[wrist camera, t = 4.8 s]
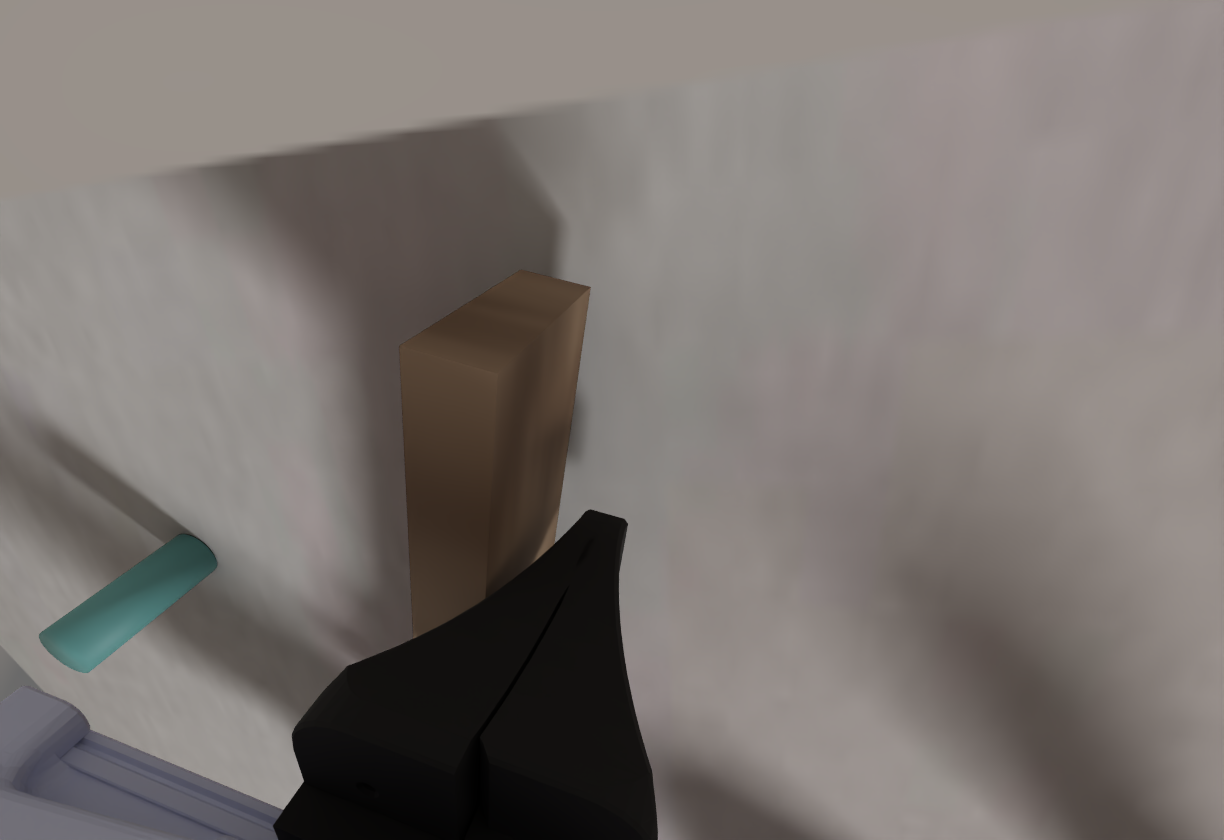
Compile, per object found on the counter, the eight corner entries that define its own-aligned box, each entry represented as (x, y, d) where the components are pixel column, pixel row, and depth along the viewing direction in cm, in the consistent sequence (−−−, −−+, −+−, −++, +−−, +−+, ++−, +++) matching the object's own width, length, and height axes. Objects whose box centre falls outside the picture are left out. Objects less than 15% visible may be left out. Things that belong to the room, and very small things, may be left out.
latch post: (215, 578, 24) (93, 680, 20) (174, 555, 24) (43, 652, 20) (217, 551, 23) (88, 653, 18) (174, 526, 23) (35, 622, 18)
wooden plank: (532, 773, 23) (467, 943, 18) (478, 752, 23) (401, 913, 19) (611, 288, 12) (499, 406, 7) (507, 263, 12) (339, 360, 8)
